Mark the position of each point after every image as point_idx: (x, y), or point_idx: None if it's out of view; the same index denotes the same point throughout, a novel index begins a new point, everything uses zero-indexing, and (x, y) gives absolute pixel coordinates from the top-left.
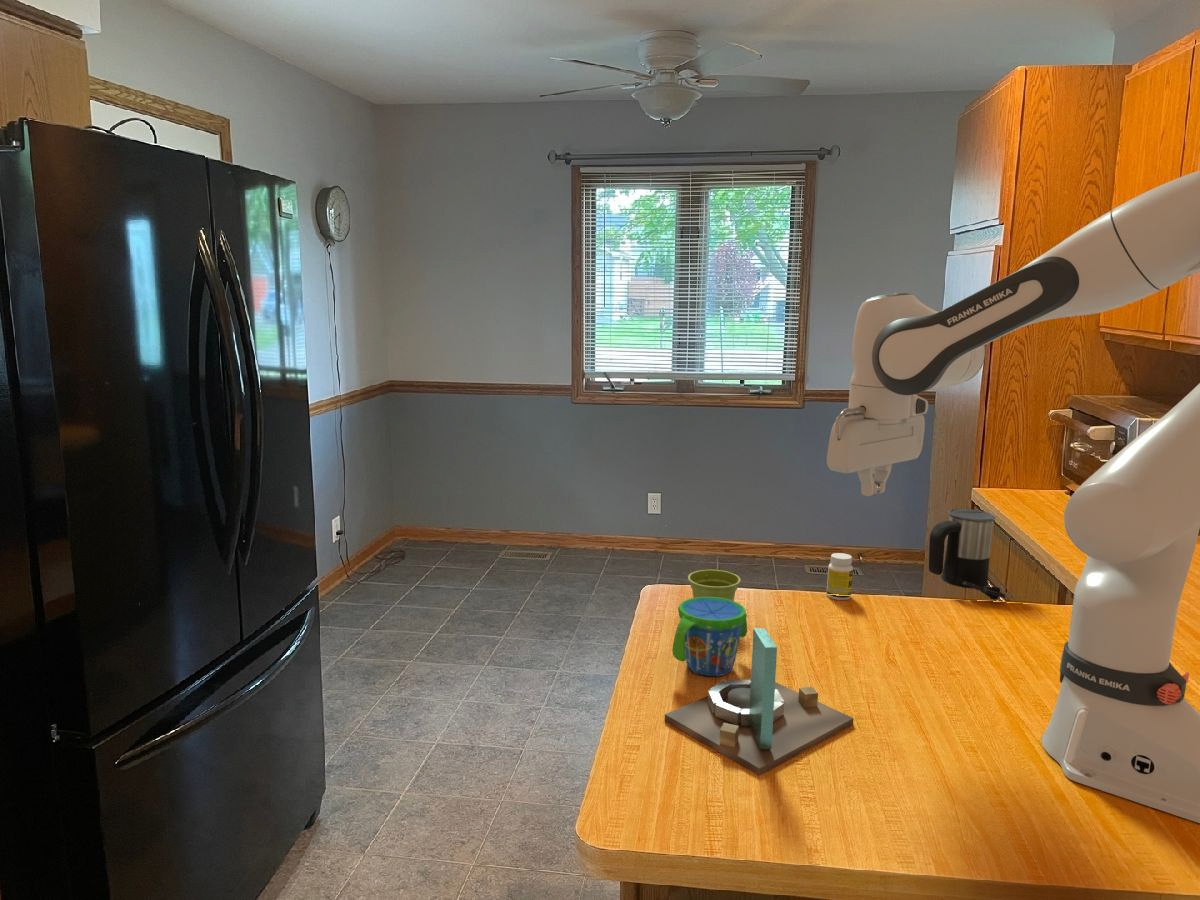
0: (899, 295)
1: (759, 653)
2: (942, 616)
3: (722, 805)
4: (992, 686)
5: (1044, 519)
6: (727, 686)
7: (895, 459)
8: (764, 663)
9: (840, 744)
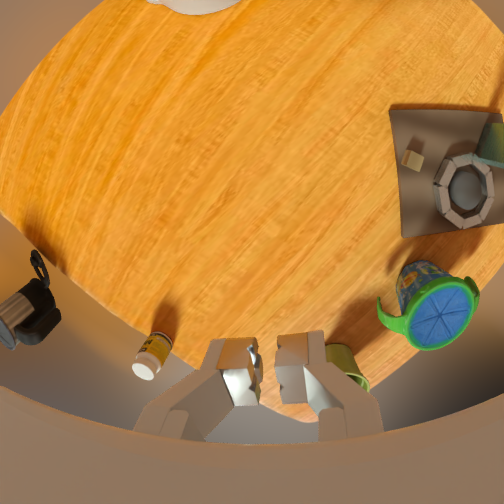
0: None
1: None
2: (95, 254)
3: None
4: (173, 99)
5: None
6: (467, 217)
7: (113, 445)
8: None
9: (423, 96)
